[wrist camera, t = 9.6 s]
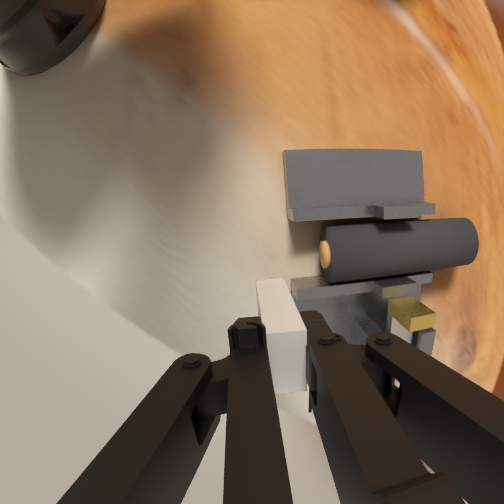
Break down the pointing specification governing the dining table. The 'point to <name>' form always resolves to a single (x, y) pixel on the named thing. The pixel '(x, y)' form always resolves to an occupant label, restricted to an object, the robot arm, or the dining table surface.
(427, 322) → the white and yellow slider
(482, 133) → the dining table surface
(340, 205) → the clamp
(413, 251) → the dark grey cylinder
